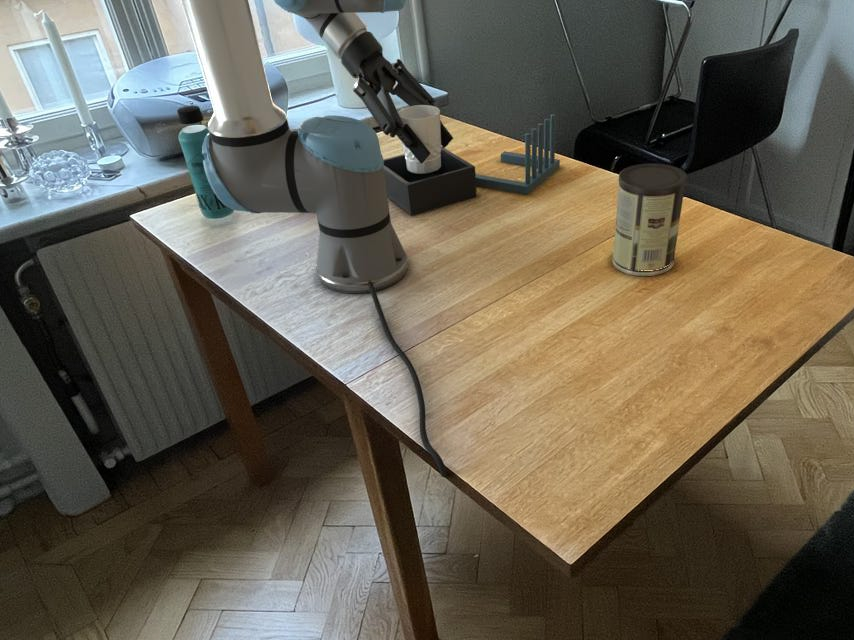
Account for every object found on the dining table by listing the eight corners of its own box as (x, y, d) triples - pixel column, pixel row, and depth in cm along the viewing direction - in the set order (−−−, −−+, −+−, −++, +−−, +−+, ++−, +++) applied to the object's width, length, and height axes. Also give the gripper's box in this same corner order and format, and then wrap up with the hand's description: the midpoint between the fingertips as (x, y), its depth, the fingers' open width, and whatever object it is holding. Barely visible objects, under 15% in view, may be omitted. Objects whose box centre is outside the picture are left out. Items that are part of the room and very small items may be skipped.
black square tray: (476, 196, 143) (475, 166, 138) (411, 216, 138) (407, 185, 134) (441, 173, 152) (438, 144, 147) (378, 191, 147) (374, 161, 143)
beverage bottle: (201, 217, 142) (165, 105, 128) (235, 209, 144) (202, 99, 129) (207, 229, 138) (170, 116, 123) (242, 222, 139) (209, 109, 125)
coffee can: (646, 242, 126) (657, 157, 116) (686, 265, 119) (701, 178, 109) (598, 258, 122) (605, 172, 112) (637, 283, 116) (647, 194, 106)
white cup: (446, 159, 143) (442, 104, 136) (441, 175, 138) (436, 118, 131) (407, 160, 144) (401, 105, 137) (400, 175, 139) (394, 119, 132)
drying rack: (559, 167, 151) (561, 112, 143) (527, 195, 142) (527, 137, 134) (504, 158, 156) (503, 105, 148) (470, 184, 147) (467, 129, 139)
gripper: (376, 46, 141) (453, 144, 146) (310, 76, 128) (397, 183, 134) (395, 15, 135) (475, 119, 140) (328, 44, 123) (418, 157, 128)
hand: (437, 150), depth 137 cm, fingers closed on white cup, 8 cm apart
